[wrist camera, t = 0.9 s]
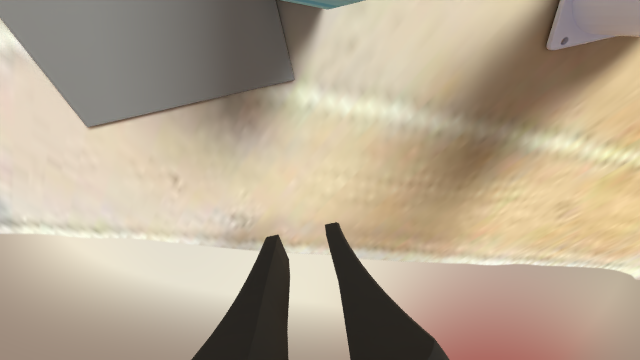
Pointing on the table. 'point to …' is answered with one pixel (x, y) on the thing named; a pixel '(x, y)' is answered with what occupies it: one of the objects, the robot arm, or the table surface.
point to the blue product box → (324, 3)
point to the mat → (150, 51)
